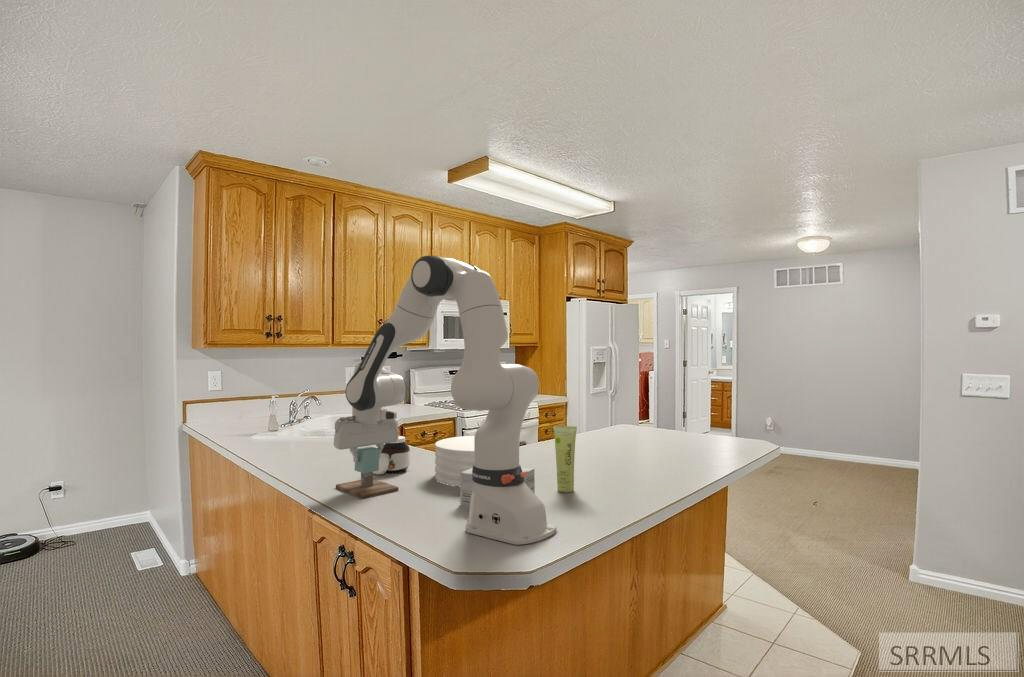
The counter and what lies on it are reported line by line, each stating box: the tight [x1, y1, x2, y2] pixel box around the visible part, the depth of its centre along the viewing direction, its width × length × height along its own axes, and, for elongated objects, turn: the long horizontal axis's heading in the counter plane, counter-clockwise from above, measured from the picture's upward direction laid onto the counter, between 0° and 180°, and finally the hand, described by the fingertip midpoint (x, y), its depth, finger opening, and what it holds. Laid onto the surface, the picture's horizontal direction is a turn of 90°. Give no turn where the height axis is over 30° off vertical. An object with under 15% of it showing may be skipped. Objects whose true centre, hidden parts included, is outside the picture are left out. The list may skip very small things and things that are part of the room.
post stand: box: [335, 472, 399, 499], centre depth 158 cm, size 16×12×8 cm
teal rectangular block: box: [354, 445, 379, 474], centre depth 159 cm, size 5×5×7 cm
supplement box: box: [459, 467, 536, 507], centre depth 145 cm, size 17×13×9 cm
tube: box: [552, 425, 578, 493], centre depth 158 cm, size 6×5×20 cm
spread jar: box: [373, 435, 411, 476], centre depth 180 cm, size 12×11×12 cm
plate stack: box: [434, 435, 475, 487], centre depth 175 cm, size 28×28×12 cm
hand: (366, 460), depth 159 cm, fingers closed on teal rectangular block, 5 cm apart
